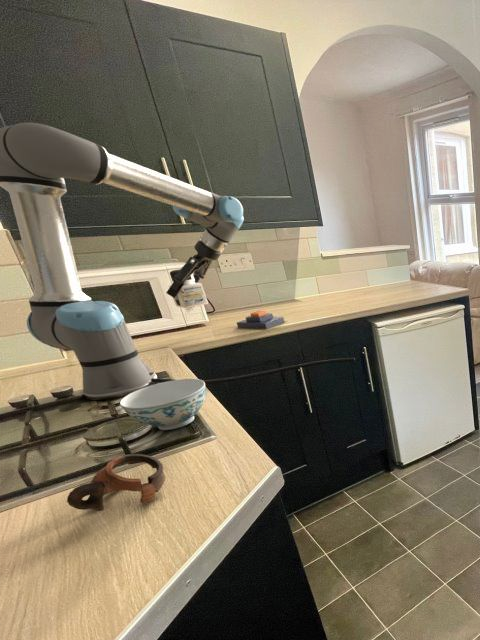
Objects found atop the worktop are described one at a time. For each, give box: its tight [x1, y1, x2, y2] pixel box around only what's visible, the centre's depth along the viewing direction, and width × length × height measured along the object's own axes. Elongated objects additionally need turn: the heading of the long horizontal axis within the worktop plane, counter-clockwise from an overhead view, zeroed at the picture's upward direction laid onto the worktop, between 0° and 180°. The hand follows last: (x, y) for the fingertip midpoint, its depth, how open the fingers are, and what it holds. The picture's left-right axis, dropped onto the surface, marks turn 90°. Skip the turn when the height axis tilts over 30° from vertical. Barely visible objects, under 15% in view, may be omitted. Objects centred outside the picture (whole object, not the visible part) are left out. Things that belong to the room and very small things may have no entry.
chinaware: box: [119, 378, 207, 431], centre depth 94 cm, size 15×15×8 cm
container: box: [168, 268, 209, 309], centre depth 154 cm, size 8×8×13 cm
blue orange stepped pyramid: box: [236, 312, 285, 330], centre depth 172 cm, size 14×10×4 cm
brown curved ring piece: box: [66, 453, 166, 512], centre depth 68 cm, size 12×10×8 cm
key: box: [250, 310, 267, 317], centre depth 171 cm, size 4×4×2 cm
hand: (179, 292), depth 154 cm, fingers closed on container, 11 cm apart
